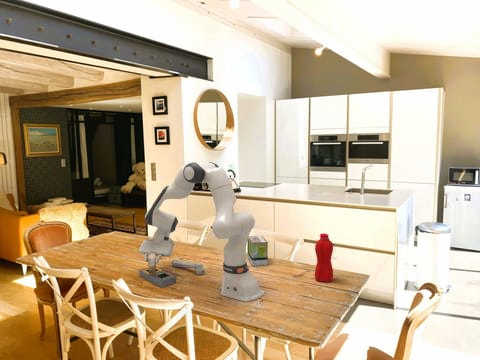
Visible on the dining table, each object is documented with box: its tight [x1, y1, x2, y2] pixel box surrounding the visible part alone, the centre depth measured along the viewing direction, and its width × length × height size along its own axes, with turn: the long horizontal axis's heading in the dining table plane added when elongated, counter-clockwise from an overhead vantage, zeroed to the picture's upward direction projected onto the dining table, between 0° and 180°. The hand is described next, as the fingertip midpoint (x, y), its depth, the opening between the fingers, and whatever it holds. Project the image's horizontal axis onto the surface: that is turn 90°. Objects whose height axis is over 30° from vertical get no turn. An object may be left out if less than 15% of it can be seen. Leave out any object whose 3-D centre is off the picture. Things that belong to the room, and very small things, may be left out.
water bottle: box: [314, 232, 337, 283], centre depth 193 cm, size 9×11×25 cm
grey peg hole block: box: [138, 266, 177, 288], centre depth 199 cm, size 23×9×4 cm, turn 44°
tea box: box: [247, 235, 269, 267], centre depth 224 cm, size 15×10×15 cm, turn 9°
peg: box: [147, 251, 157, 273], centre depth 203 cm, size 4×4×14 cm
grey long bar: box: [171, 259, 206, 276], centre depth 213 cm, size 5×7×25 cm
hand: (151, 261), depth 202 cm, fingers open, 5 cm apart
